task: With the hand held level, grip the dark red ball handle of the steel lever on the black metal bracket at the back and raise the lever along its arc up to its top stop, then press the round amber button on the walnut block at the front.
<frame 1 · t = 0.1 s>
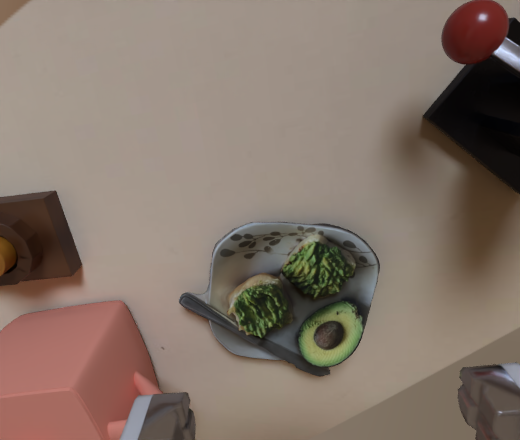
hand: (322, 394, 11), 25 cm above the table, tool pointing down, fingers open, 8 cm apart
plate of avocado toast: (293, 292, 40), on the table
teapot: (103, 369, 44), on the table
button block: (20, 234, 37), on the table
bracket: (510, 112, 32), on the table
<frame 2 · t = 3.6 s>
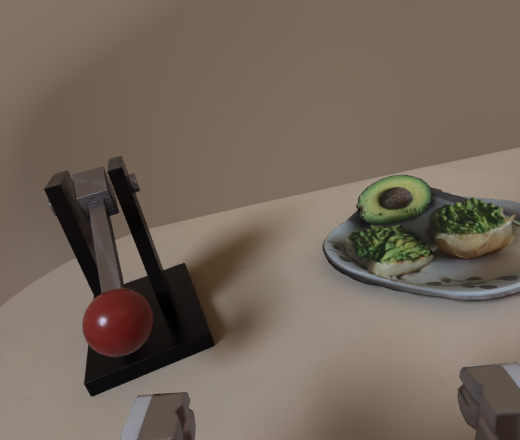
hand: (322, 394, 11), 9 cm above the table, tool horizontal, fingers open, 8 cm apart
plate of avocado toast: (425, 245, 34), on the table
lever: (106, 250, 24), point 10 cm above the table, hinge at -25.0°
bracket: (149, 322, 32), on the table
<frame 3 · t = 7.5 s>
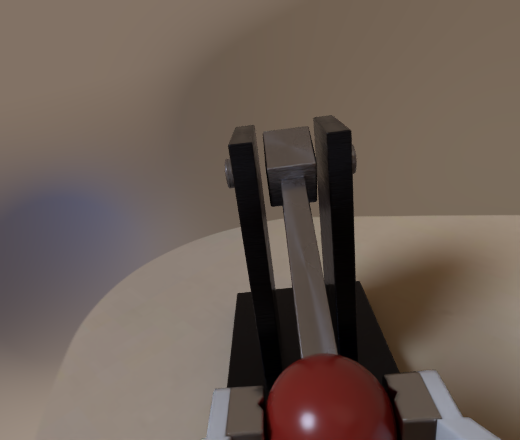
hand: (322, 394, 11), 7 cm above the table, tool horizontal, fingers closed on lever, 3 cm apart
lever: (304, 265, 14), point 10 cm above the table, hinge at -25.0°, touching gripper
bracket: (308, 360, 22), on the table
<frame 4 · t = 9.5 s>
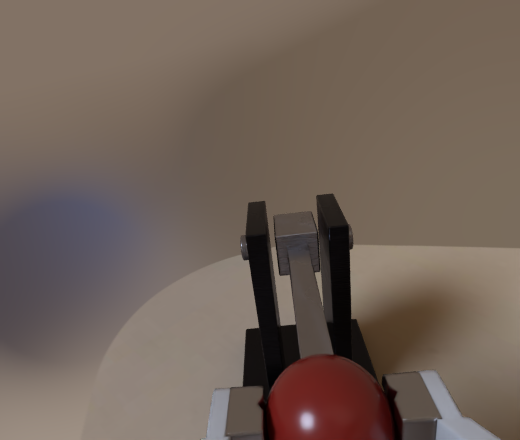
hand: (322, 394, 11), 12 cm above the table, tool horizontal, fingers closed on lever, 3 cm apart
lever: (307, 306, 16), point 12 cm above the table, hinge at 0.4°, touching gripper
bracket: (310, 397, 26), on the table
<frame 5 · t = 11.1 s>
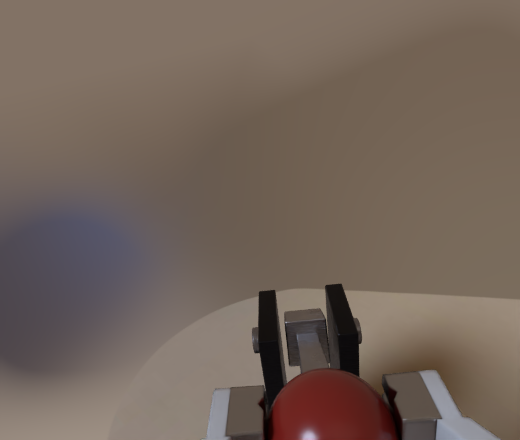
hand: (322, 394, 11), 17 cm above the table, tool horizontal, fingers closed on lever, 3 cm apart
lever: (314, 370, 16), point 15 cm above the table, hinge at 27.0°, touching gripper
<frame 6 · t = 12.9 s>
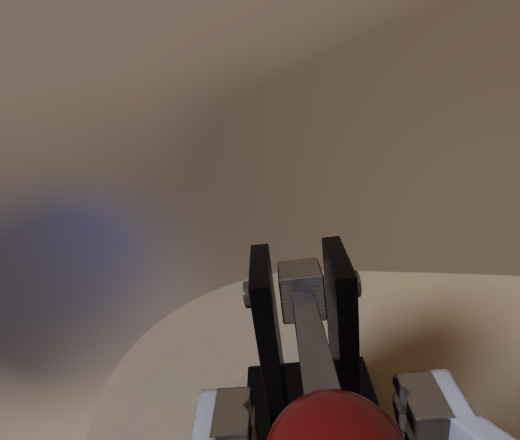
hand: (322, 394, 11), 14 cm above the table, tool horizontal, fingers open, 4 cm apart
lever: (312, 348, 14), point 13 cm above the table, hinge at 10.7°
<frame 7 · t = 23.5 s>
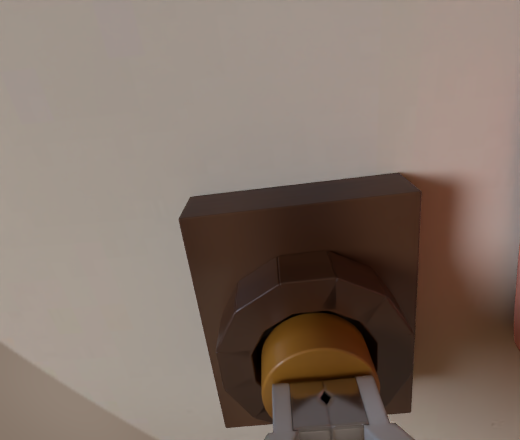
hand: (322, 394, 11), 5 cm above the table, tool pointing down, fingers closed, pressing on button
button block: (303, 294, 16), on the table
button: (317, 373, 12), point 4 cm above the table, slide at 0.1 cm, touching gripper
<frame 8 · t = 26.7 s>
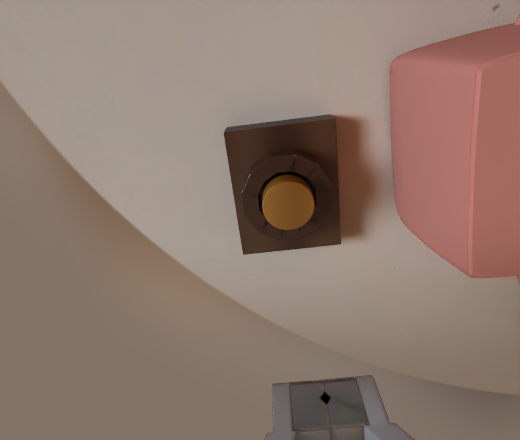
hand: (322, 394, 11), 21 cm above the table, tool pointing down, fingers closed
teapot: (514, 117, 29), on the table
button block: (284, 183, 31), on the table
button: (287, 202, 27), point 4 cm above the table, slide at 0.1 cm
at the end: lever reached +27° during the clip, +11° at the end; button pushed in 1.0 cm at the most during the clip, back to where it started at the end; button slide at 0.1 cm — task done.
